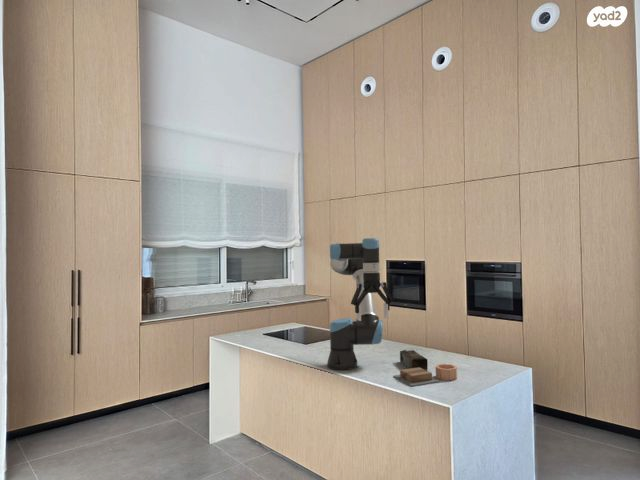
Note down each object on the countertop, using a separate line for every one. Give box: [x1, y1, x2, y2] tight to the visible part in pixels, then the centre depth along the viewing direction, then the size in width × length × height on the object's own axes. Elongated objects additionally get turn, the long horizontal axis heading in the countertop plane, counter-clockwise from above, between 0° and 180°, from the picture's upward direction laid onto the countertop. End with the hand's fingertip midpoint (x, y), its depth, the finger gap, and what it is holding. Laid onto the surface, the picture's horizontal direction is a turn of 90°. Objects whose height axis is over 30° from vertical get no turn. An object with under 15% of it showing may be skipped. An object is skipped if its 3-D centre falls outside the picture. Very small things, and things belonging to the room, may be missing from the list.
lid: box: [399, 367, 433, 383], centre depth 188 cm, size 10×10×3 cm
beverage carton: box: [399, 349, 429, 371], centre depth 209 cm, size 8×19×7 cm, turn 7°
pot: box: [435, 363, 458, 381], centre depth 190 cm, size 9×9×5 cm
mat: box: [393, 374, 440, 388], centre depth 188 cm, size 15×14×1 cm
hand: (372, 319), depth 192 cm, fingers open, 13 cm apart
